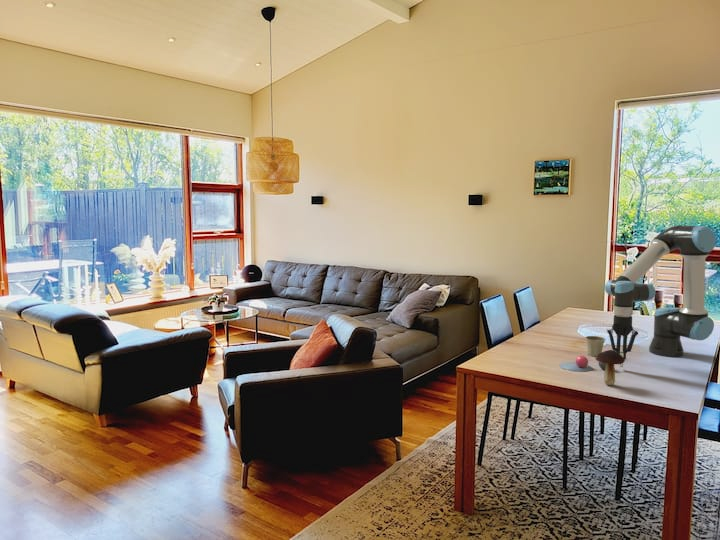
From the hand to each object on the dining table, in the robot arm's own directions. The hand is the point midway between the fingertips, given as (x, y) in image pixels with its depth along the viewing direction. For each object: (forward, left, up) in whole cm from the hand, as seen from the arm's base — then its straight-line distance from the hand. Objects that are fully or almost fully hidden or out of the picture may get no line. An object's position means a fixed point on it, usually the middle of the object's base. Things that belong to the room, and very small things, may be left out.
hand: (620, 366), depth 240 cm
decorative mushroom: (+8, +23, -2) cm, 24 cm away
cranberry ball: (+16, 0, +1) cm, 16 cm away
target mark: (+19, 0, -2) cm, 19 cm away
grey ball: (+7, 0, +1) cm, 7 cm away
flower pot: (+8, -24, -2) cm, 25 cm away
